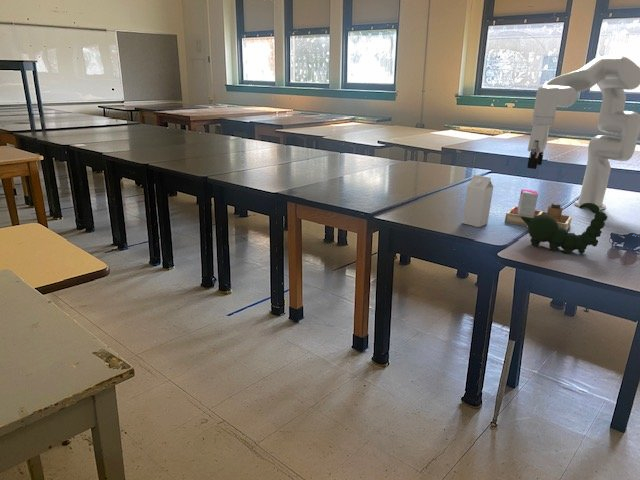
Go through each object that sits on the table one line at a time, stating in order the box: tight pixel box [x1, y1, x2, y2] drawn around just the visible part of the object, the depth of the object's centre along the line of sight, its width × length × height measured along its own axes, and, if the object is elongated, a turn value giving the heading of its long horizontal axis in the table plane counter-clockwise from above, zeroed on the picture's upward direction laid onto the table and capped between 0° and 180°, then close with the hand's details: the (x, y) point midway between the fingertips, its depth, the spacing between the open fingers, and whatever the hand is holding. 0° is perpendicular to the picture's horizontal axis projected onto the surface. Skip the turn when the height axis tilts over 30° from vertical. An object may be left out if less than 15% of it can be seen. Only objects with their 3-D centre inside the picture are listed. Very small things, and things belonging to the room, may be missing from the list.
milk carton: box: [461, 173, 494, 228], centre depth 185 cm, size 7×7×19 cm
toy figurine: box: [521, 203, 608, 255], centre depth 162 cm, size 9×19×25 cm
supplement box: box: [516, 189, 539, 217], centre depth 192 cm, size 6×6×12 cm
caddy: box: [504, 202, 573, 231], centre depth 189 cm, size 13×22×9 cm, turn 56°
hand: (534, 166), depth 186 cm, fingers open, 9 cm apart
